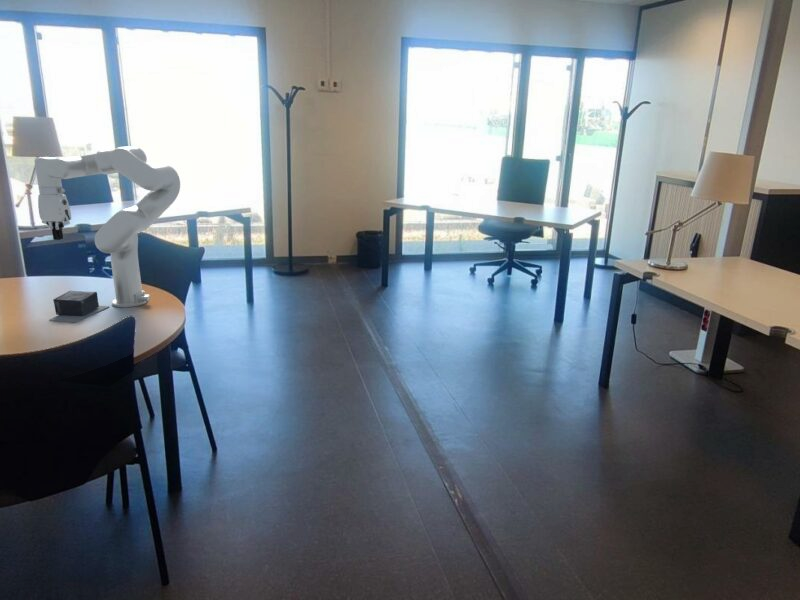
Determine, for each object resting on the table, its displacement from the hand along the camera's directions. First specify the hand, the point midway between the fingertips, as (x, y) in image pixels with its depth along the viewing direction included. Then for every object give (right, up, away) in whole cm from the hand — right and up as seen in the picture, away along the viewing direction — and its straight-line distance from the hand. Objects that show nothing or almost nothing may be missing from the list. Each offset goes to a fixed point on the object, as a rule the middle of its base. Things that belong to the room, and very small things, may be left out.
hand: (58, 239), depth 210 cm
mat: (+12, -29, -7) cm, 32 cm away
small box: (+6, -25, -7) cm, 26 cm away
